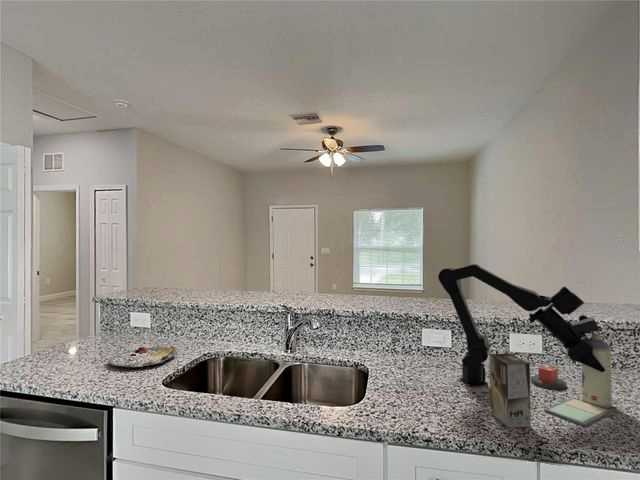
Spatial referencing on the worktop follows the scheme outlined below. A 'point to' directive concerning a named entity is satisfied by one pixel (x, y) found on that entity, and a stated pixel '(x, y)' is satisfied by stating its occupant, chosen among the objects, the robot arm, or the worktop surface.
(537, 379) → the red die on its tray
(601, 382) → the aerosol can
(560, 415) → the game board
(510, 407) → the coffee box
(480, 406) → the worktop surface
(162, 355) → the food plate
